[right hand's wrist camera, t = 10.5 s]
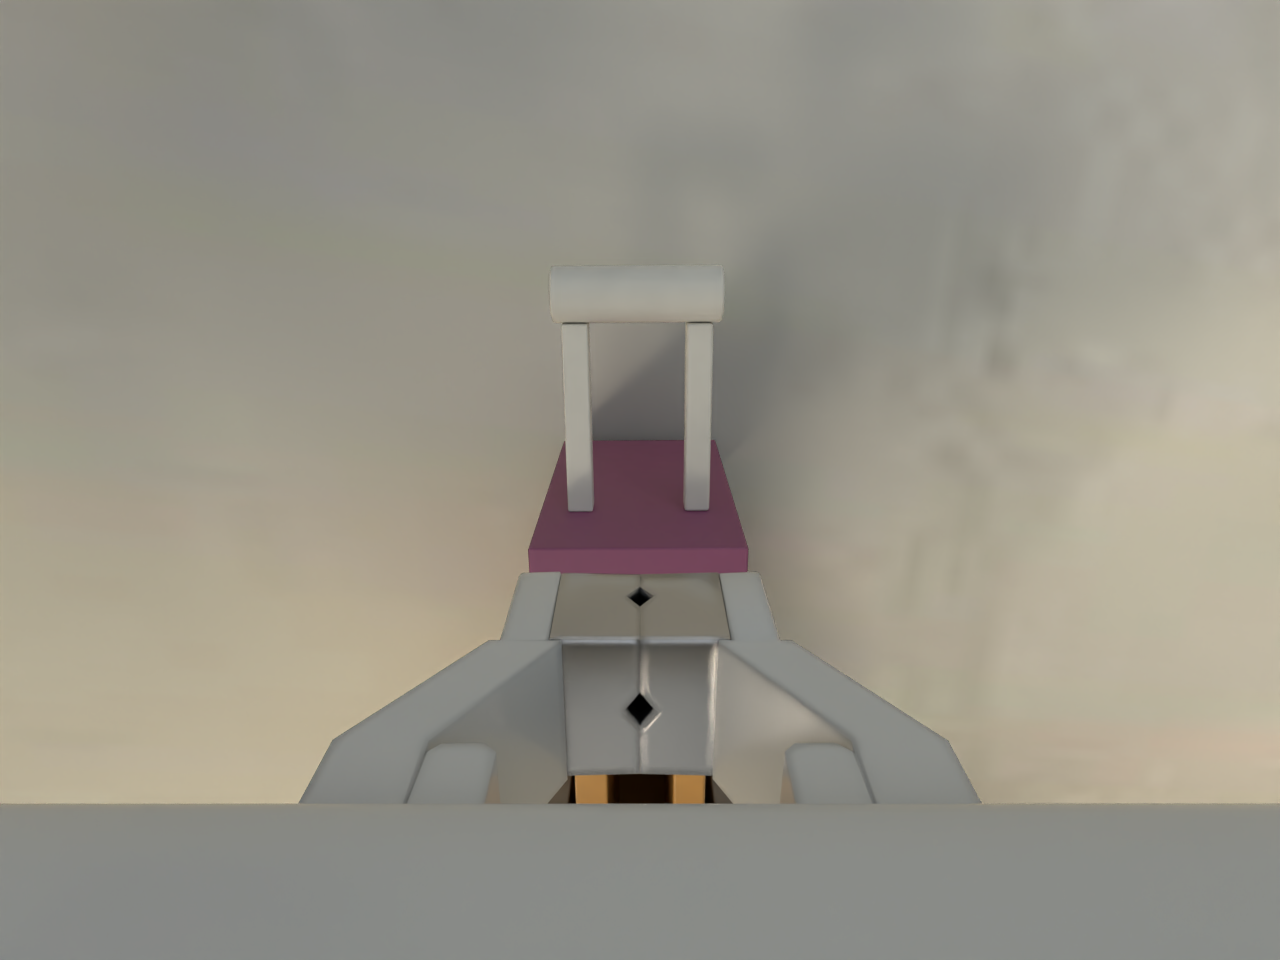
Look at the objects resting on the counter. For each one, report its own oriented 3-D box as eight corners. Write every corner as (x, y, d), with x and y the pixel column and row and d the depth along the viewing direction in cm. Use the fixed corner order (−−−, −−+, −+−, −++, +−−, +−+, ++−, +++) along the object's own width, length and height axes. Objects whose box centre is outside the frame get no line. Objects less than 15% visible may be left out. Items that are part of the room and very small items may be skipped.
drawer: (556, 251, 23) (511, 275, 15) (720, 249, 23) (760, 273, 15) (579, 832, 30) (557, 1054, 22) (705, 831, 30) (727, 1054, 22)
